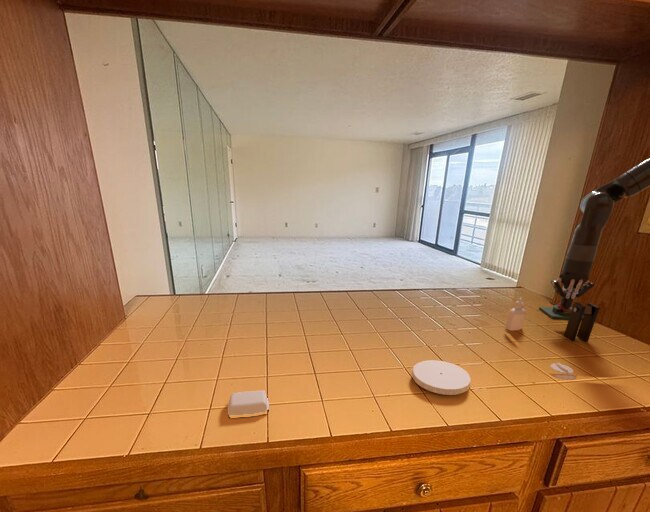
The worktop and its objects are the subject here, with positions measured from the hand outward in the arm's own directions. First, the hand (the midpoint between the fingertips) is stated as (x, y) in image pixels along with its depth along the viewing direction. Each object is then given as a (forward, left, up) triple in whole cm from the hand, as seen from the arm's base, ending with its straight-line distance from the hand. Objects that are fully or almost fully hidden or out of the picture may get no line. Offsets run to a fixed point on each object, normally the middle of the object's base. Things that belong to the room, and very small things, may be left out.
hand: (564, 308), depth 118 cm
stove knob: (+15, +31, -8) cm, 35 cm away
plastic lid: (+49, +40, -8) cm, 64 cm away
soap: (+94, +56, -8) cm, 110 cm away
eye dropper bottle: (+17, +4, -8) cm, 19 cm away
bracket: (0, +10, -8) cm, 13 cm away
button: (-7, -12, -4) cm, 14 cm away
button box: (-7, -12, -8) cm, 16 cm away
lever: (0, +6, 0) cm, 6 cm away
